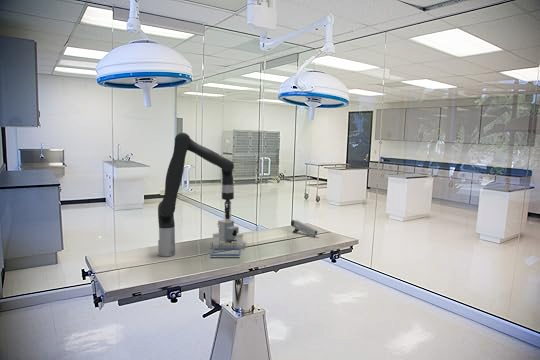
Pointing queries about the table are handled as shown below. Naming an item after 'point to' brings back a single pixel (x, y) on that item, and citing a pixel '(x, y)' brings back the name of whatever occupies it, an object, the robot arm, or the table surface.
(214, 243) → the left fuse
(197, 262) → the table surface
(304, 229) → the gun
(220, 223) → the circuit breaker
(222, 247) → the fuse holder
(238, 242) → the right fuse
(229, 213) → the block
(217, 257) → the tray
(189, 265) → the table surface
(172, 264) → the table surface
